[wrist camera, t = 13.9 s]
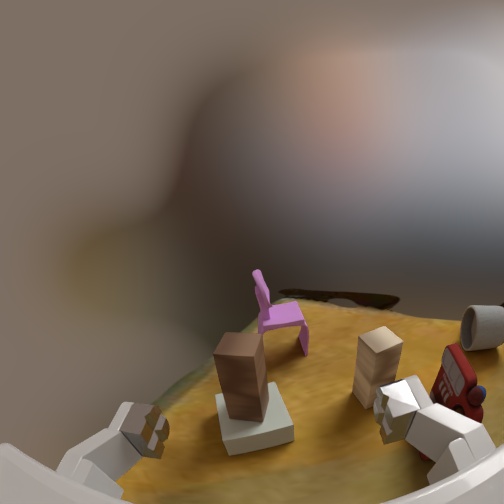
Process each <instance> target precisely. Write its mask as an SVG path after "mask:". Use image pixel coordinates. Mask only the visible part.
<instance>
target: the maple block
mask: <svg viewBox="0 0 504 504" xmlns="http://www.w3.org/2000/svg"><path fill="white" fill-rule="evenodd" d="M402 345H403V341H402V340H401V339H400V338H399V337H397V336H396V335H395V334H394V333H393V332H391V331H390V330H389V329H388V328H386V327H385V326H383V327H380V328H378V329H375V330H373V331H370V332H367V333H365V334H362V335H359V336H358V347H357V358H356V367H355V375H354V383H353V390H352V392H353V393H354V394H355V396H356V397H357V398H358V400H359V401H360V402H361V404H362V405H363V406H364V408H365V409H368V408H370V407H372V406H374V400H375V399H376V398H377V395H376V389H377V387H378V386H380V385H383V384H387V383H390V382H393V381H395V377H396V373H397V369H398V364H399V360H400V355H401V350H402Z"/></svg>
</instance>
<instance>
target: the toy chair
mask: <svg viewBox="0 0 504 504" xmlns="http://www.w3.org/2000/svg"><path fill="white" fill-rule="evenodd" d="M252 274H253V277H254V279H255V281H256V284H257V286H256V287H255V292H256V296H257V299H258V303H259V306H260V310H261V312H260V313H259V316H258V334H262V337H263V334H264V333H265V332H266V331H269V330H273V329H278V328H282V327H289V326H301V331H300V333H299V339H300V342H301V345H302V348H303V351H304V354H305V356H307V355H308V343H309V330H308V327H307V324H306V322H305V319H304V317H303V315H302V312H301V310H300V308H299V306H298V303H297V301H295V302H289V303H285V304H279V305H271V304H270V302H269V290H268V288H267V286H266V284H265V282H264V280H263V277H262V274H261V272H260V270H255V271H254V272H253V273H252Z"/></svg>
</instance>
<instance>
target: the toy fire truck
mask: <svg viewBox="0 0 504 504" xmlns="http://www.w3.org/2000/svg"><path fill="white" fill-rule="evenodd" d="M485 397H486V390H485V388H484V387H483V386H477V376H476V374H475V372H474V370H473V369H472V367H471V365H470V363H469V362H468V360H467V358H466V357H465V355H464V353H463V352H462V350H461V348H460V347H459V345H458V344H456V343H455V344H451V345H448V346H446V348H445V350H444V353H443V356H442V364H441V367H440V370H439V373H438V375H437V378H436V380H435V383H434V385H433V387H432V389H431V392H430V399H431V401H432V402H433V404H435V403H438V404H440V405H442V406H444V407H446V408H448V409H450V410H452V411H454V412H457V413H459V414H461V415H463V416H465V417H467V418H470V419H472V420H474V421H476V422H478V423H481V422H482V419H483V408H482V406H481V404H482V402H483V401H484V399H485ZM419 454H420V457H421V458H422V459H423V460H428V459H430V458H429V457H428V456H426V455H425V454H423V453H422V452H421V451H419Z"/></svg>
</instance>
